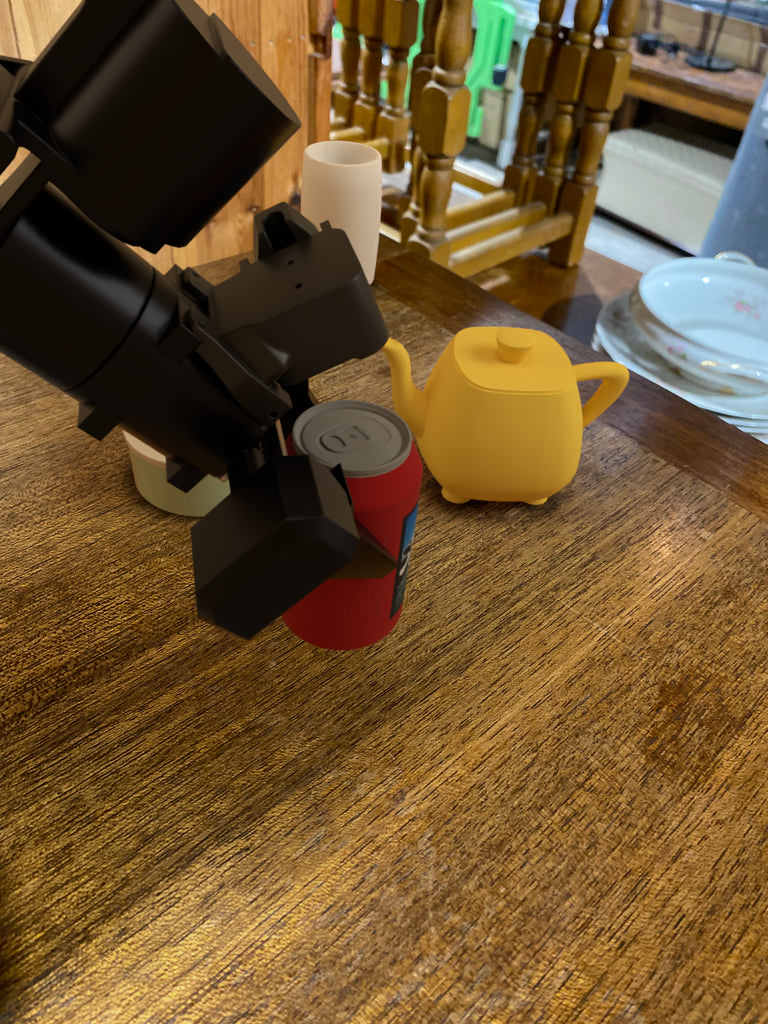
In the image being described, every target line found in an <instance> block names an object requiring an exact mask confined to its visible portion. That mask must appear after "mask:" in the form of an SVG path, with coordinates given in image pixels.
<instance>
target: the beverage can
mask: <svg viewBox="0 0 768 1024" xmlns="http://www.w3.org/2000/svg"><path fill="white" fill-rule="evenodd" d="M285 445H286V450H287V454H288V455H301V454H309V455H310V456H311V457H313V458H314V459H315V460H317V461H318V462H320V463H321V464H322V465H324V466H325V467H326V468H328V470H329V471H330V470H331V469H332V468H334V467H335V466H336V465H337V464H338V463H341V465H342V468H343V471H344V474H345V478H346V481H347V484H348V487H349V490H350V494H351V497H352V500H353V504H354V517H355V518H356V519H357V520H358V521H359V522H360V523H361V524H362V525H363V526H364V527H365V528H366V529H367V530H368V531H369V532H370V533H371V534H372V535H373V536H375V537H376V538H377V539H378V540H379V541H380V542H381V543H382V545H383V546H384V547H385V548H386V549H387V550H388V551H389V552H390V553H391V554H392V556H393V557H394V558H395V559H396V562H397V567H396V568H395V569H394V570H393V571H392V572H390V573H389V574H388V575H386V576H385V577H383V578H379V579H327V580H326V581H325V582H323V583H322V584H321V585H320V586H318V587H317V588H316V589H315V590H313V591H312V592H311V593H309V594H308V595H307V596H306V597H304V598H303V599H302V600H300V601H299V602H298V603H297V604H295V605H294V606H293V607H291V608H290V609H289V610H288V611H286V612H285V613H284V614H283V615H281V616H280V617H281V619H282V621H283V623H284V624H285V626H286V627H287V628H288V629H289V630H290V631H291V632H292V634H294V636H296V637H297V638H299V639H300V640H302V641H304V642H305V643H308V644H309V645H312V646H314V647H317V648H321V649H326V650H331V651H353V650H358V649H363V648H367V647H369V646H372V645H374V644H376V643H378V642H379V641H381V640H383V639H385V638H386V636H388V635H389V634H390V633H391V632H392V631H393V630H394V628H395V627H396V625H397V624H398V622H399V620H400V618H401V614H402V610H403V604H404V599H405V592H406V588H407V581H408V574H409V569H410V563H411V555H412V550H413V544H414V543H413V542H414V536H415V530H416V523H417V516H418V509H419V503H420V502H419V501H420V496H421V495H420V494H421V489H422V488H421V487H422V480H423V473H424V465H423V460H422V457H421V455H420V453H419V451H418V449H417V447H416V445H415V443H414V441H413V436H412V432H411V431H410V429H409V427H408V425H407V424H406V422H405V421H404V420H403V419H402V418H401V417H400V416H399V415H397V414H396V412H395V411H393V410H392V409H390V408H387V407H385V406H383V405H381V404H377V403H374V402H370V401H365V400H359V399H335V400H330V401H324V402H321V403H320V404H318V405H315V406H313V407H311V408H309V409H308V410H306V411H305V412H303V413H302V414H301V415H300V416H299V417H298V418H297V420H296V421H295V423H294V426H293V431H292V432H291V433H290V435H289V436H288V438H287V439H286V440H285Z"/></svg>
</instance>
